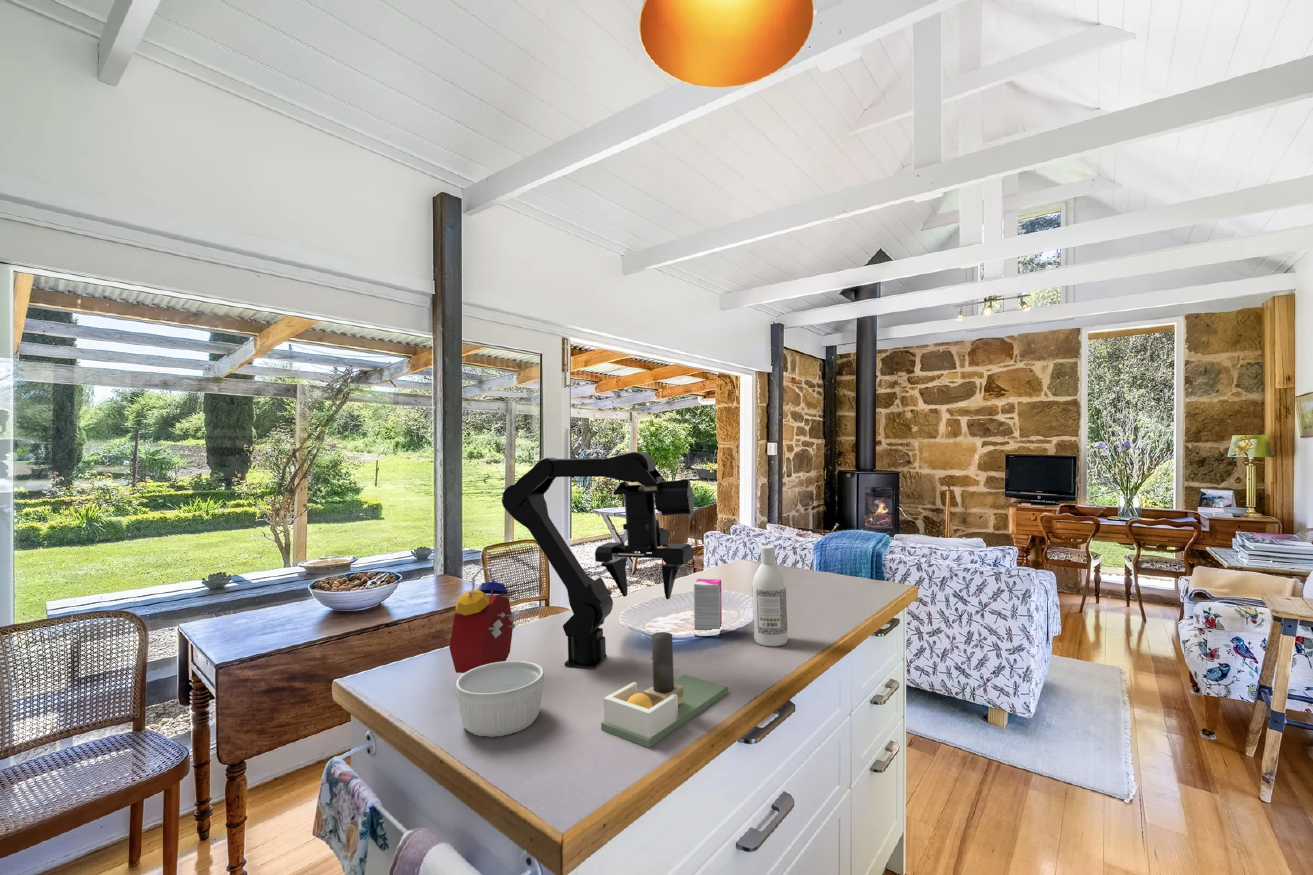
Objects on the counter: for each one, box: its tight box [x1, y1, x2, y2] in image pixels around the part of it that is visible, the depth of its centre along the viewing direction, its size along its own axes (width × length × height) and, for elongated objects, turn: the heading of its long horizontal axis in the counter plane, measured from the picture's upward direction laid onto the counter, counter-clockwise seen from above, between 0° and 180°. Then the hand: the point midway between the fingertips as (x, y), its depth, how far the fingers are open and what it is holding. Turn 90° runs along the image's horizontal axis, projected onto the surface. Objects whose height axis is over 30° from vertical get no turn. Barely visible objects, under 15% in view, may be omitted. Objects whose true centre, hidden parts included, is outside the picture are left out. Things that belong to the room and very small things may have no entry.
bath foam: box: [751, 545, 789, 647], centre depth 118 cm, size 7×7×20 cm
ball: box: [627, 692, 653, 709], centre depth 83 cm, size 4×4×4 cm
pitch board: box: [600, 673, 729, 749], centre depth 88 cm, size 9×22×1 cm, turn 142°
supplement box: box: [693, 578, 723, 631], centre depth 125 cm, size 6×6×12 cm
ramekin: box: [455, 660, 545, 737], centre depth 87 cm, size 13×13×7 cm
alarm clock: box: [449, 567, 520, 674], centre depth 105 cm, size 15×9×20 cm, turn 173°
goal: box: [603, 681, 678, 739], centre depth 83 cm, size 9×7×4 cm
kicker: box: [643, 631, 684, 706], centre depth 88 cm, size 4×5×11 cm
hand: (646, 597), depth 108 cm, fingers open, 9 cm apart
